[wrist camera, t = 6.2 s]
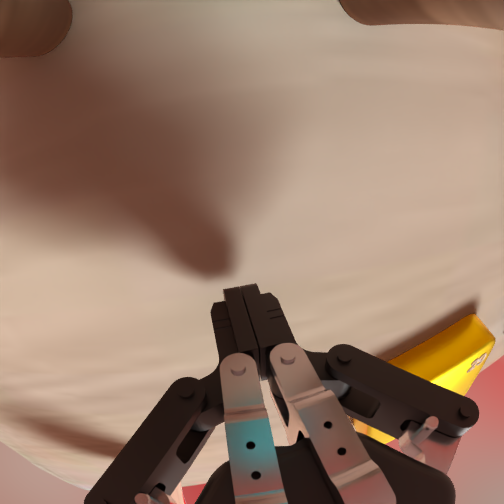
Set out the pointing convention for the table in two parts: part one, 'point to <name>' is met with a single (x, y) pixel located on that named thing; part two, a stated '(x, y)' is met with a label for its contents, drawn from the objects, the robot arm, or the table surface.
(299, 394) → the robot arm
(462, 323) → the element tile
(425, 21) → the post
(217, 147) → the table surface
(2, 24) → the post
